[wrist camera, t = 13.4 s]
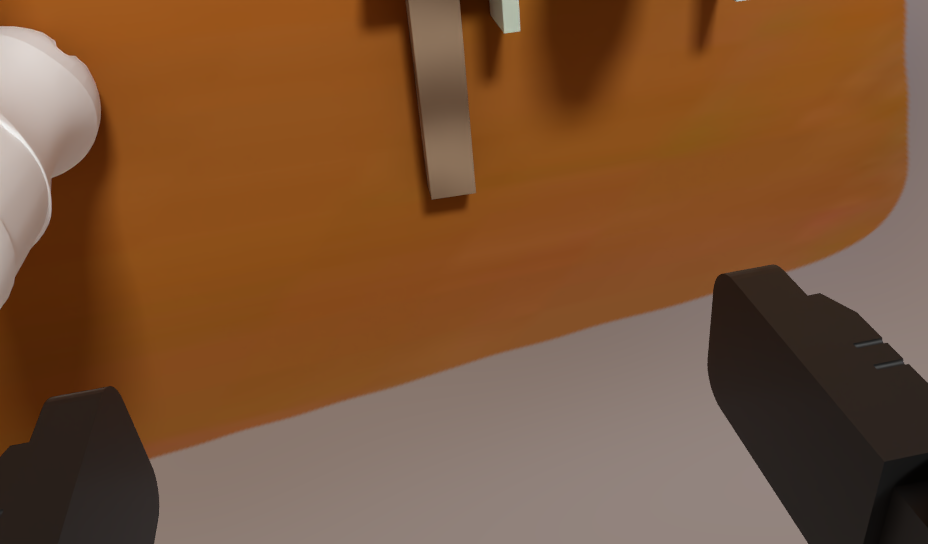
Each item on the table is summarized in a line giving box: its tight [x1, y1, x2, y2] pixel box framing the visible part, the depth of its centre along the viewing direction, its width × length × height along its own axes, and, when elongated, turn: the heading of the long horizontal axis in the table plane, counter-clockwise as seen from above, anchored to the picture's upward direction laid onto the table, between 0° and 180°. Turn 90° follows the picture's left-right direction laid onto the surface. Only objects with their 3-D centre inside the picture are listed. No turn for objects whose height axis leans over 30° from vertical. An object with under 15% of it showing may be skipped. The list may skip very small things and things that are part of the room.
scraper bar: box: [406, 0, 476, 200], centre depth 43 cm, size 13×6×3 cm, turn 5°
